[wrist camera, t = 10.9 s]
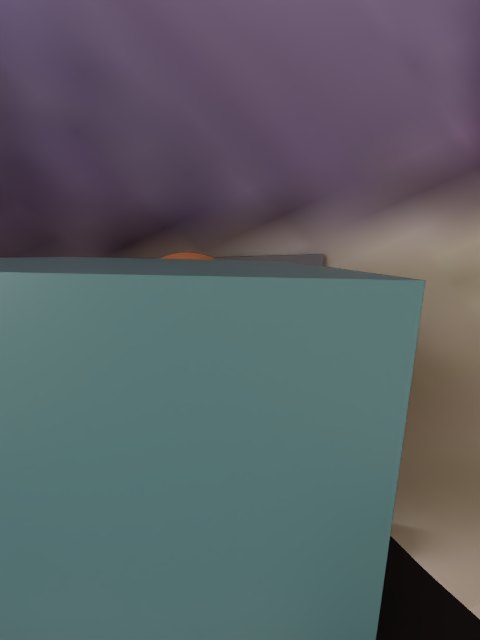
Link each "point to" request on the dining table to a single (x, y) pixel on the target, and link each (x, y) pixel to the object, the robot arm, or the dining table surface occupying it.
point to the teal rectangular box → (199, 447)
